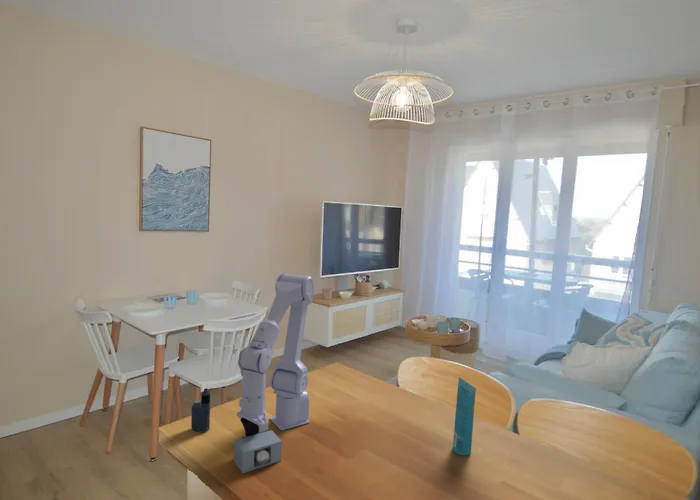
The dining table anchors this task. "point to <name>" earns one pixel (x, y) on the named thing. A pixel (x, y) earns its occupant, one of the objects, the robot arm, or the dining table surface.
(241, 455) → the sleeve block
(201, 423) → the vaping device
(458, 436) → the tube
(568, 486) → the dining table surface
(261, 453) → the peg
